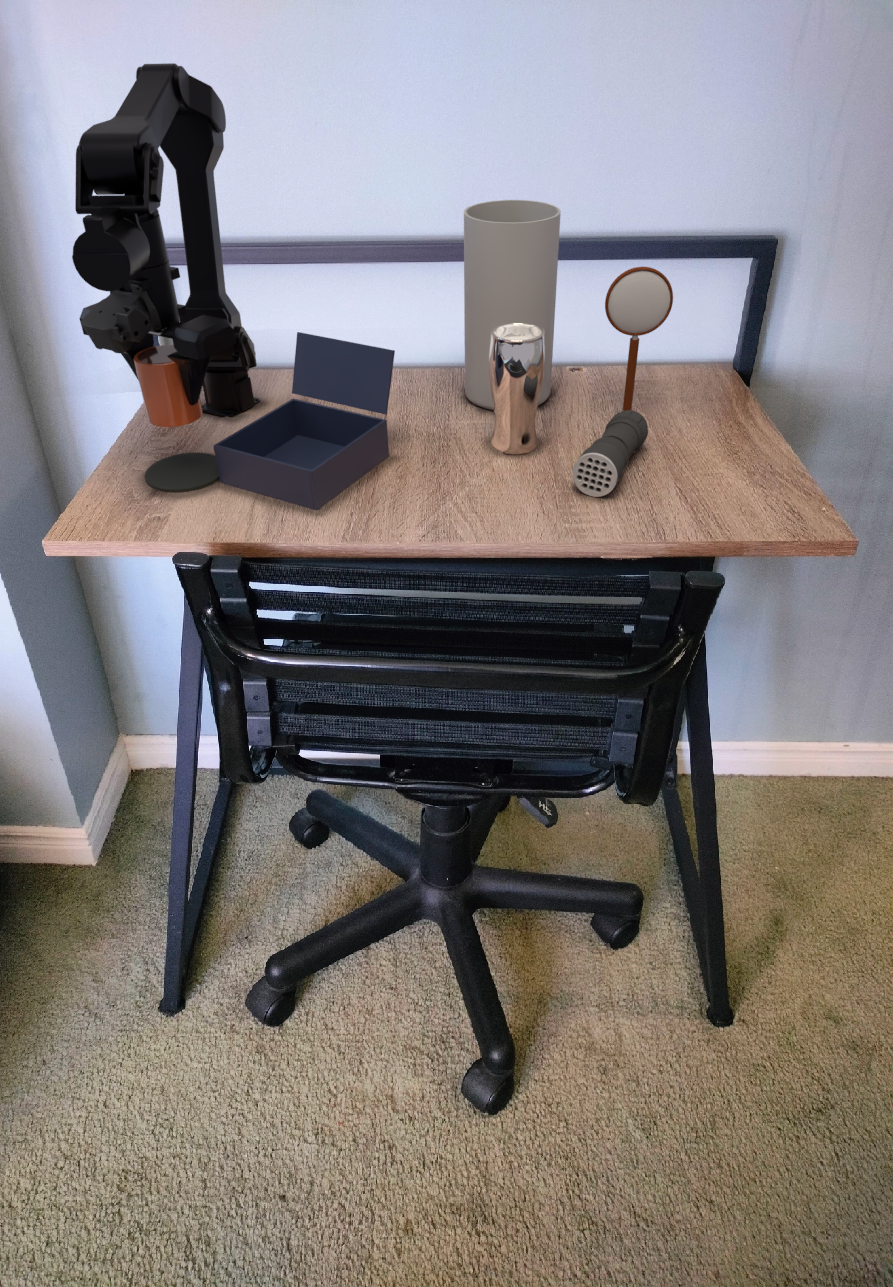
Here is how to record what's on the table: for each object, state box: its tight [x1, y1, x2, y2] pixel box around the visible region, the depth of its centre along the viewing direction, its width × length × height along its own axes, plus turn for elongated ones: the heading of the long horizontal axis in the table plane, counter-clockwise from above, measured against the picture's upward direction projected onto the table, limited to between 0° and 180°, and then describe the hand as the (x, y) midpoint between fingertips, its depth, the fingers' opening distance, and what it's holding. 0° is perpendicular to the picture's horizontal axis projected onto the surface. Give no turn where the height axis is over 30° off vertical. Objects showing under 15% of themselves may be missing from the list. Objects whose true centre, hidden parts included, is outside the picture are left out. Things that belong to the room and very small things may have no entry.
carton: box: [213, 398, 390, 511], centre depth 112 cm, size 16×15×5 cm
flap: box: [291, 331, 396, 415], centre depth 114 cm, size 8×15×1 cm
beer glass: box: [489, 323, 545, 456], centre depth 114 cm, size 7×7×15 cm
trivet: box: [144, 452, 220, 494], centre depth 113 cm, size 10×10×1 cm
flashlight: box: [571, 409, 649, 498], centre depth 111 cm, size 15×5×5 cm, turn 154°
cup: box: [133, 344, 204, 428], centre depth 106 cm, size 6×6×8 cm
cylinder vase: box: [463, 199, 561, 411], centre depth 123 cm, size 12×12×25 cm
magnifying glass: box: [604, 266, 674, 411], centre depth 118 cm, size 9×2×20 cm, turn 88°
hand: (172, 398), depth 107 cm, fingers closed on cup, 6 cm apart
